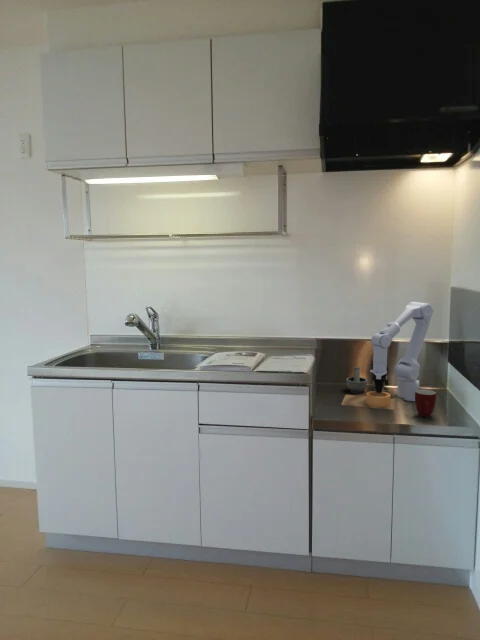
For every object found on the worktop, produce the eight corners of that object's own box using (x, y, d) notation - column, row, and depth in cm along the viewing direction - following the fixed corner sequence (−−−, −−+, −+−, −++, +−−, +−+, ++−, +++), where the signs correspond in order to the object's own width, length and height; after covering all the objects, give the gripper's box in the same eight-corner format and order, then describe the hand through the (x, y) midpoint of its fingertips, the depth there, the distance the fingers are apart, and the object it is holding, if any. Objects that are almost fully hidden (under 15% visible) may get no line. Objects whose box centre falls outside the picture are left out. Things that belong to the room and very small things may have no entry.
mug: (439, 421, 198) (440, 396, 196) (418, 421, 198) (419, 396, 197) (432, 412, 208) (433, 389, 207) (412, 412, 209) (413, 389, 207)
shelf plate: (395, 401, 224) (396, 391, 223) (394, 412, 209) (394, 401, 208) (345, 397, 231) (345, 387, 230) (340, 407, 216) (341, 396, 215)
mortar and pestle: (367, 397, 230) (367, 371, 229) (346, 396, 232) (346, 370, 231) (366, 390, 241) (367, 366, 240) (346, 389, 243) (347, 365, 242)
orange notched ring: (390, 400, 221) (391, 392, 220) (389, 407, 211) (390, 398, 211) (367, 398, 224) (367, 390, 223) (365, 405, 214) (365, 396, 214)
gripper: (371, 357, 227) (371, 386, 229) (369, 364, 213) (368, 395, 215) (388, 358, 224) (387, 387, 226) (386, 365, 211) (385, 396, 213)
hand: (379, 391), depth 221 cm, fingers open, 3 cm apart
